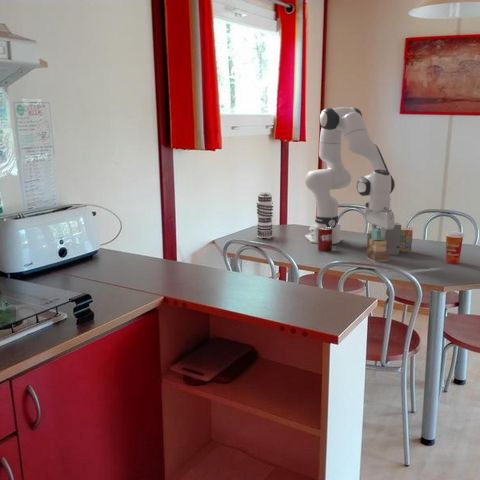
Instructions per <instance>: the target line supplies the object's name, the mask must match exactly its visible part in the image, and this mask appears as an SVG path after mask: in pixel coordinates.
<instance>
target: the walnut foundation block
mask: <svg viewBox="0 0 480 480" xmlns="http://www.w3.org/2000/svg"><path fill="white" fill-rule="evenodd" d="M366 257H367V258H366V259H368V258H369V259H368V260H370V259H371V260H370V261H372V260H373V261H372V262H374V261H377V262H384V261H383V260H388V261H389V255H388V251H385V252H374V251H371V250H369V249H367V248H366Z"/></svg>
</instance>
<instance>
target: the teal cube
mask: <svg viewBox="0 0 480 480" xmlns="http://www.w3.org/2000/svg"><path fill="white" fill-rule="evenodd" d="M371 231H372V239H375V240H385V236H384V237H380V236H379V235H380V233H381V227H379V228H378V227H377V228H376V229H372V228H371ZM385 234H386V232H385Z"/></svg>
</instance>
